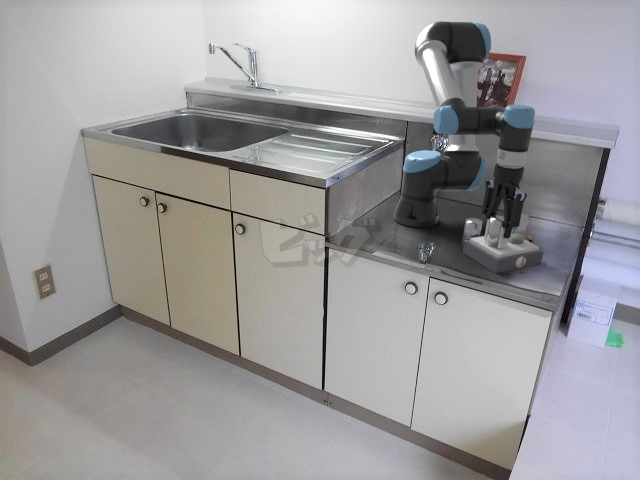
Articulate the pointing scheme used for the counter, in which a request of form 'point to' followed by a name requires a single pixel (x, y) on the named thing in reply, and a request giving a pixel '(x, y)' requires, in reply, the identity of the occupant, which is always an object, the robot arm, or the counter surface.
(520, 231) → the cylinder
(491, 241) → the cylinder
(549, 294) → the counter surface
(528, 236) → the filled bread boat
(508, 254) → the scale
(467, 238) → the cylinder
